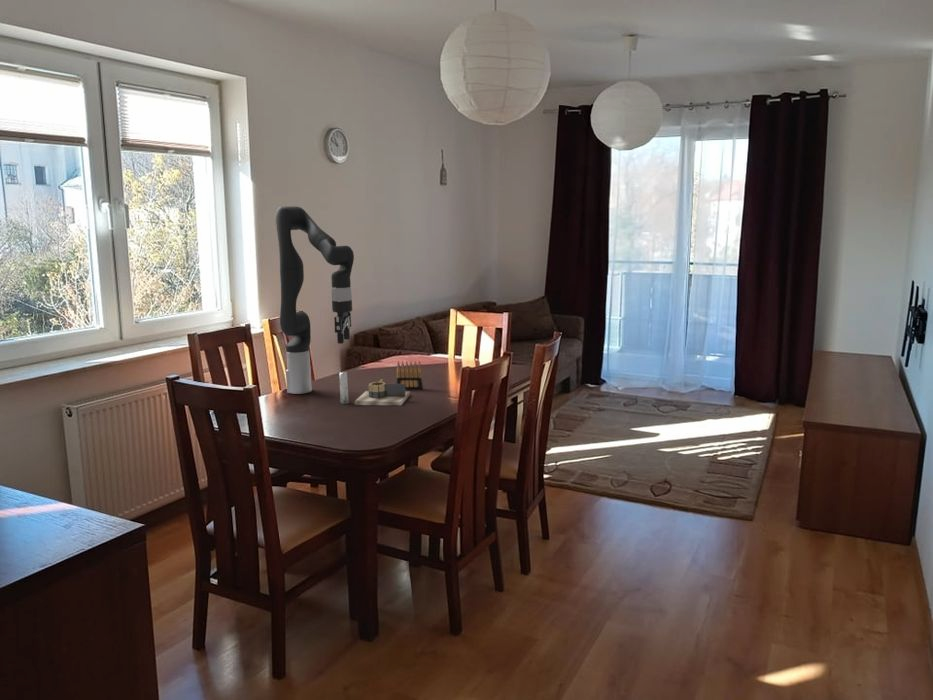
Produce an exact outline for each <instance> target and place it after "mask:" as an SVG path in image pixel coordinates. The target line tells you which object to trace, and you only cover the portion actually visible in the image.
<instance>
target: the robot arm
mask: <svg viewBox="0 0 933 700" xmlns="http://www.w3.org/2000/svg"><path fill="white" fill-rule="evenodd" d="M275 226H276V232H277V233H276V235H277V239H278V253H279V278H280V312H279V314H280V315H279V326H280V329H281V331H282V333H283V335H285V336H287V337H291V339H290V341H289V342H287V343H286V345H285V353H286V368H287V369H286V370H285V378H286V379H285V381H286V392H287V394H293V395H294V394H295V395H300V394H301V395H302V394H303V395H304V394H307V393H311V392H312V391H313V389H312V388H313V387H312V375H311V371H312V370H311V359H310V357H311V356H310V344H311V342H312V340H311V320H310V317H309V315H308V314H307V313H306V312H305V311H303V310H297V300H298V296H299V294H300V291H301V289H302V286H303V284H304V279H305V274H304V262H303V259H302V258H301V256H300V254H299V253H298V251H297V250H296V248H295V245H294V243H293V240H292V239H293V238H292V231H298V230H300V231H303V232H304V233H306V234H307V238H308V241H309V244H310V245H311V246H312V247H314V248H315V249H316V251H318V252H320V254H321V255H322V257H323V258H324V259H325V262H327V264H328V265H329V264H330V265H332V266H339V268H338V270H336V271H333V272H332V273H331V275H330V277H331V309H332V312H333V313H337V314H336V316H334V320H333V321H334V333H335V334H336V337H337V344H340V345H341V344H344V343H345V341H344V340H350V338H351V336H350V335H351V333H350V331H351V330H350V329H351V327H352V317H351V315H352V313H351V312H353V296H352V295H353V294H352V288H351V286H352V285H351V274H352V270H353V265H354V260H355V254H354V250H353V249H352V248H351V246H348V245H337V242H336V240H335V239H334V238H333V237H332V236H330V235H329V234H328V233H326V232H325V231H324V230H322V228H321V227H320V226H318V224H317V223H316V222H315V221H314V219H313V218H312V217H311V216H310V214H308V212H306V211H305V209H303V208H302V207H300V206H296V205H293V206H287V205H285V206H280V207H277V210H276V213H275Z"/></svg>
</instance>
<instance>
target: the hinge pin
mask: <svg viewBox="0 0 933 700" xmlns="http://www.w3.org/2000/svg"><path fill="white" fill-rule="evenodd" d="M338 375H339V376H338V377H339V379H338V380H339V393H340V395H339V397H340V404H342V405H343V404H344V405H346V404H349V402H350V401H349V387H348V385H349V384H348V372H347V371H339V372H338Z"/></svg>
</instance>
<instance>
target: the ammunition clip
mask: <svg viewBox="0 0 933 700" xmlns="http://www.w3.org/2000/svg"><path fill="white" fill-rule="evenodd" d="M422 373H423V371H422V363H421V361H420V360H418V364H417V362H416V361H414V362H412V360H410V362H409V363H408V361H407V360H406V361H405V363H404V361H403V360H402V361H401V364H400V361H398V360H397V363H396V384H405V391H408V390H409V391H410V390H411V391H415V390H416V391H422V390H424V386H423V385H424V384H423V375H422Z"/></svg>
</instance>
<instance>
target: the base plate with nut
mask: <svg viewBox="0 0 933 700" xmlns="http://www.w3.org/2000/svg"><path fill="white" fill-rule="evenodd" d="M405 386H406V383H405V384H397V383H387V382H384V379H383V378H381V379H379V381H373V382H370V383H368V390H365V391H364V392H363V393H362V394H361V395H360V396H359V397H357V399H355V401H354V406H402V405H403V404H404V403H405V401H406V400H407V399H408V398H409V397H410V393H411V392H410V390H409V391H408V390H405Z"/></svg>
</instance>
